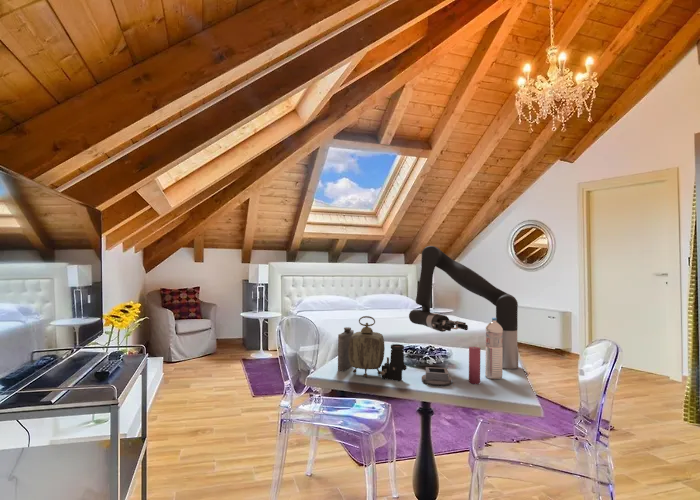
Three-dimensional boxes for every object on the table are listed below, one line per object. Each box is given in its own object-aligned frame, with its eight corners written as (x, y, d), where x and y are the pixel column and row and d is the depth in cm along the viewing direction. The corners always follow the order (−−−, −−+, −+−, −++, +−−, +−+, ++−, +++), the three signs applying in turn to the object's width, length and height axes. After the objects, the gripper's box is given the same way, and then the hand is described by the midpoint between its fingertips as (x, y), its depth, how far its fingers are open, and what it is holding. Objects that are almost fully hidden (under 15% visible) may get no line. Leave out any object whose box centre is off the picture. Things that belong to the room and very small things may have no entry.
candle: (479, 381, 170) (479, 346, 170) (480, 384, 166) (481, 349, 166) (468, 380, 171) (468, 346, 171) (469, 383, 166) (469, 348, 167)
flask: (355, 364, 194) (356, 325, 195) (344, 372, 181) (345, 330, 181) (348, 363, 196) (348, 324, 196) (336, 371, 182) (337, 329, 182)
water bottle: (500, 381, 171) (501, 319, 171) (483, 378, 174) (484, 318, 175) (503, 376, 177) (504, 317, 177) (487, 374, 180) (487, 316, 181)
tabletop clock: (384, 374, 179) (385, 315, 179) (382, 380, 170) (383, 318, 170) (351, 371, 181) (351, 314, 182) (347, 377, 172) (348, 317, 173)
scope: (386, 342, 178) (409, 344, 173) (386, 374, 177) (409, 378, 173) (380, 345, 170) (403, 348, 166) (379, 379, 170) (403, 383, 166)
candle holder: (450, 378, 174) (450, 367, 174) (453, 387, 162) (453, 375, 162) (421, 376, 176) (421, 365, 176) (421, 385, 164) (421, 373, 164)
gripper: (424, 314, 191) (444, 319, 176) (451, 313, 197) (472, 318, 181) (424, 330, 191) (444, 337, 176) (450, 329, 196) (472, 336, 181)
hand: (458, 328), depth 179 cm, fingers open, 8 cm apart
